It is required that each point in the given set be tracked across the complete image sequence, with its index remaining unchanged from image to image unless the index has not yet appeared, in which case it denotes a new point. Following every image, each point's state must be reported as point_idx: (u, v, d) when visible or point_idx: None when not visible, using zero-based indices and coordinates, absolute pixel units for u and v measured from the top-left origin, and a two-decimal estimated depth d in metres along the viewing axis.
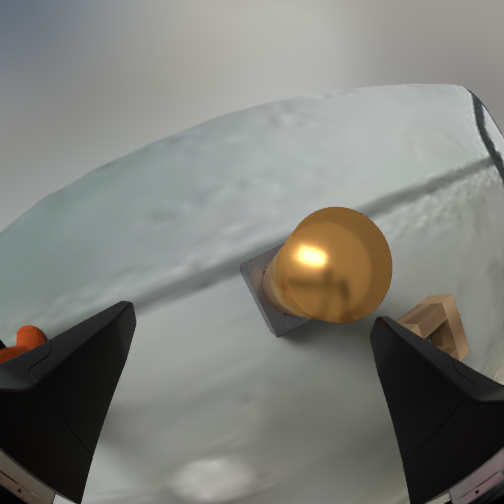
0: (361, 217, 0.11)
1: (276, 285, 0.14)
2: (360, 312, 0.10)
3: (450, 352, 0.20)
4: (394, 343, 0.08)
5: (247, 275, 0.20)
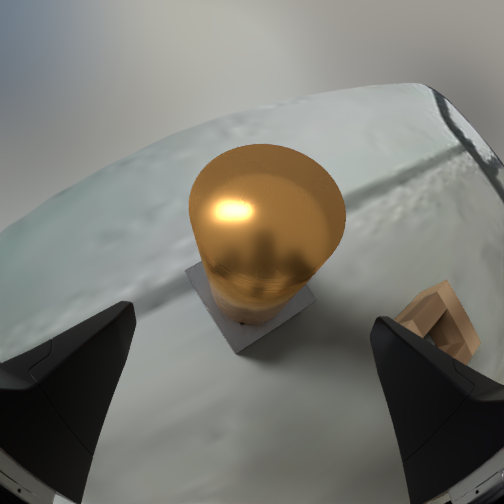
0: (290, 151, 0.09)
1: (203, 264, 0.11)
2: (305, 263, 0.07)
3: (459, 347, 0.16)
4: (394, 343, 0.08)
5: (193, 282, 0.17)
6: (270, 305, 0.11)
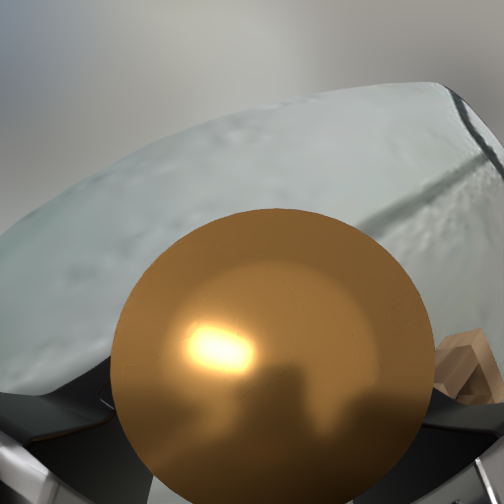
0: (337, 228, 0.04)
1: None
2: (351, 488, 0.03)
3: (485, 402, 0.11)
4: None
5: None
6: None
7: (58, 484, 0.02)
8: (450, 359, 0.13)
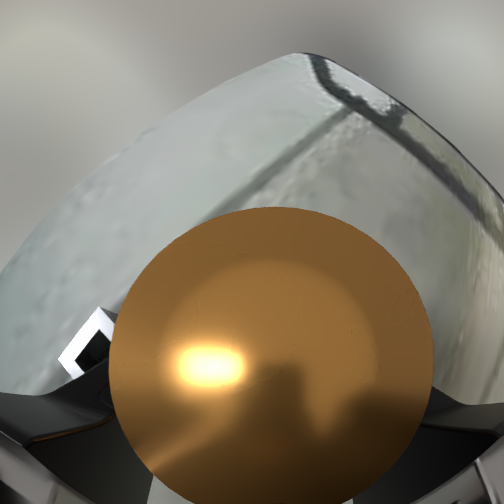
0: (335, 226, 0.04)
1: None
2: (349, 487, 0.03)
3: None
4: None
5: (65, 367, 0.16)
6: None
7: (58, 484, 0.02)
8: None
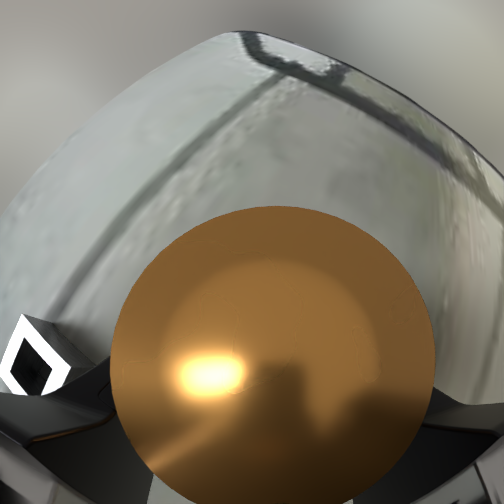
0: (336, 225, 0.04)
1: None
2: (351, 486, 0.03)
3: None
4: None
5: (4, 379, 0.12)
6: None
7: (58, 484, 0.02)
8: None
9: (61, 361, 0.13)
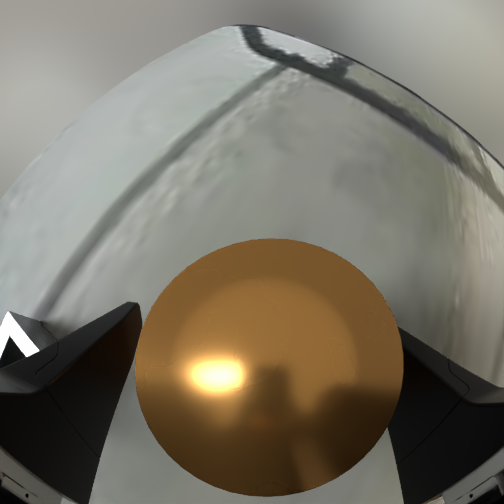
0: (319, 255, 0.05)
1: None
2: (330, 469, 0.03)
3: None
4: None
5: None
6: None
7: None
8: None
9: None
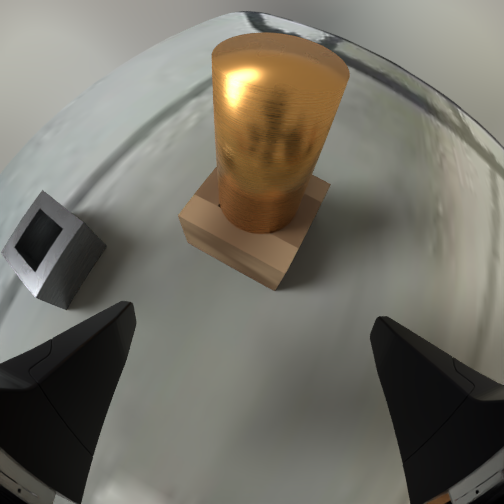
0: (297, 38, 0.08)
1: (217, 132, 0.10)
2: (318, 87, 0.07)
3: None
4: (394, 343, 0.08)
5: (6, 258, 0.14)
6: (284, 170, 0.10)
7: None
8: None
9: (74, 219, 0.15)
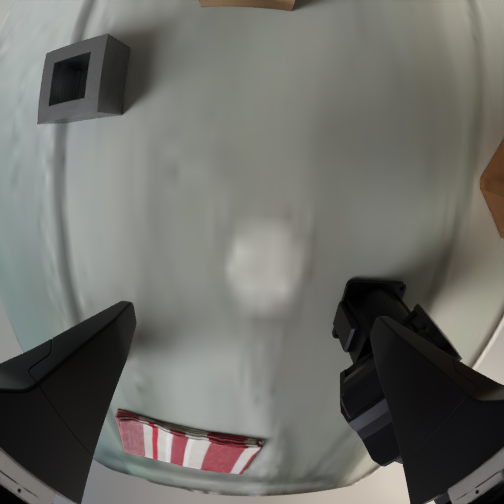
0: None
1: None
2: None
3: None
4: (394, 343, 0.08)
5: (45, 121, 0.14)
6: None
7: None
8: None
9: (97, 38, 0.12)
